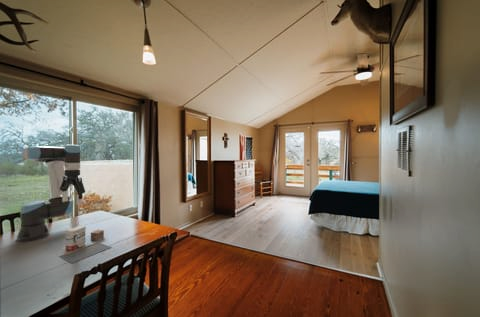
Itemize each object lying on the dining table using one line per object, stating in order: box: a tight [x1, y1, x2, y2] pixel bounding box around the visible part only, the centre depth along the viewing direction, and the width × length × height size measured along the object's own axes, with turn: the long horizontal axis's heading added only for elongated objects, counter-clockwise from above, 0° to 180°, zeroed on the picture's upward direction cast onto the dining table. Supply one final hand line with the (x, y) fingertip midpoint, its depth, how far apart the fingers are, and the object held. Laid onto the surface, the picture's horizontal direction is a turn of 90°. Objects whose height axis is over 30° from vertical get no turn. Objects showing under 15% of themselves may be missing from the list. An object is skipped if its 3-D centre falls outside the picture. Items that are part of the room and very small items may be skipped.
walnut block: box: [90, 229, 105, 242], centre depth 133 cm, size 5×5×5 cm
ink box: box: [65, 225, 86, 252], centre depth 121 cm, size 9×5×12 cm, turn 168°
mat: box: [58, 241, 112, 264], centre depth 115 cm, size 14×20×1 cm
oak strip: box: [61, 241, 98, 256], centre depth 118 cm, size 1×18×1 cm, turn 153°
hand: (72, 202), depth 125 cm, fingers open, 13 cm apart
